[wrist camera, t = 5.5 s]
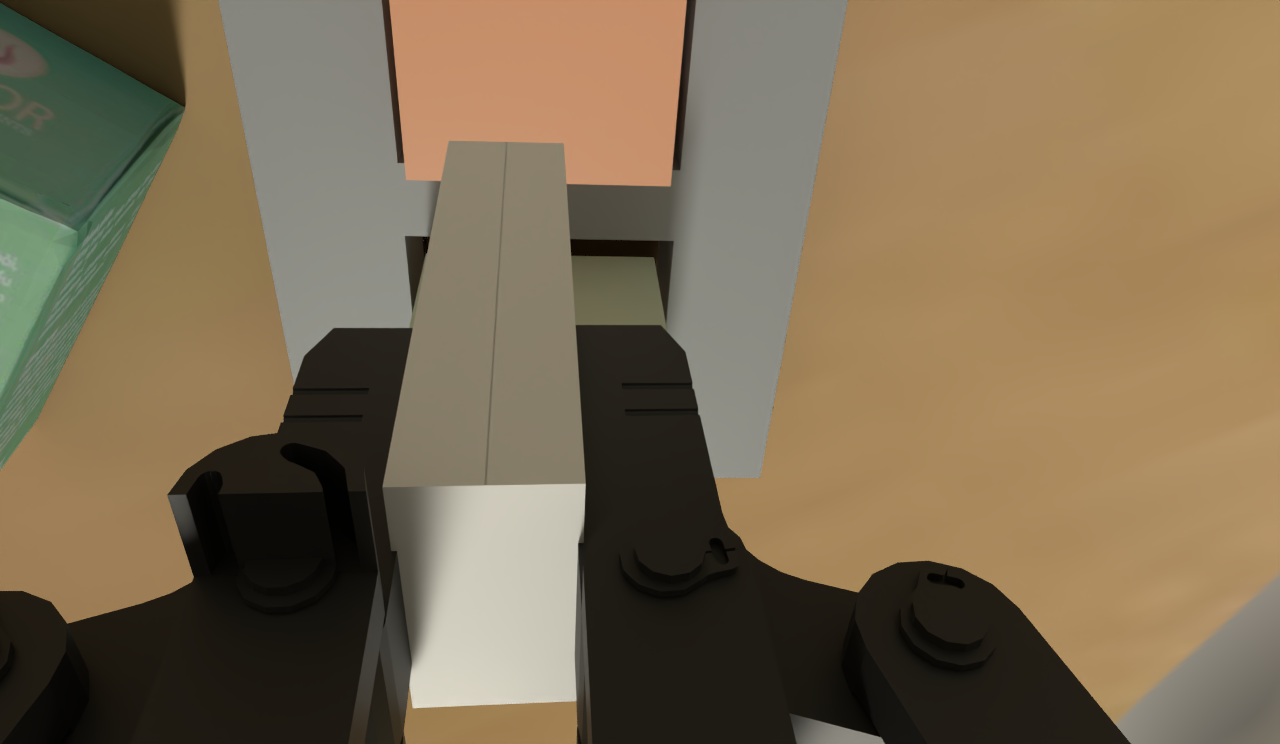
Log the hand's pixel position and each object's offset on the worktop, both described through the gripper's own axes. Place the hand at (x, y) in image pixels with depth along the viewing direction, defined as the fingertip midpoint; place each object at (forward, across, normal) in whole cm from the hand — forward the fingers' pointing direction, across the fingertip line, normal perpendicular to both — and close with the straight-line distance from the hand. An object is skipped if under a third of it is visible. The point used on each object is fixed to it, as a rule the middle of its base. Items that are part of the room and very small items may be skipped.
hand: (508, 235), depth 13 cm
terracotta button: (+12, 0, 0) cm, 12 cm away
